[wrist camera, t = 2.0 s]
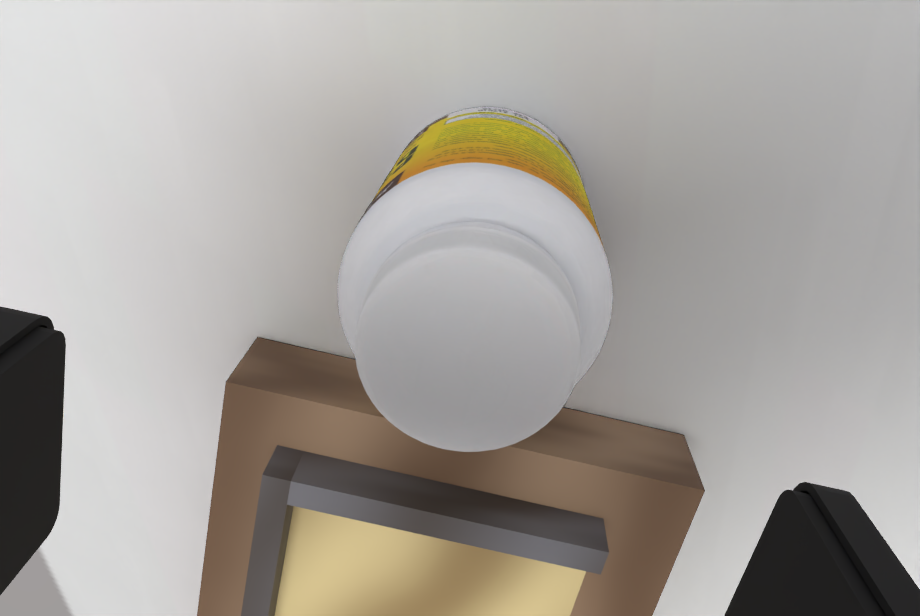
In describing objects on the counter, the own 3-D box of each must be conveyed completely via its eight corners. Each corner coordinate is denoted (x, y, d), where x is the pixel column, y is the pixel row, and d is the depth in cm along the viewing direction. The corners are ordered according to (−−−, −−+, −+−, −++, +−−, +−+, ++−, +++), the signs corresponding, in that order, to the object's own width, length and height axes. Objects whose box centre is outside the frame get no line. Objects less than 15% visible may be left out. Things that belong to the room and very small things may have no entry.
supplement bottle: (410, 81, 22) (334, 161, 12) (606, 129, 22) (677, 243, 13) (374, 267, 24) (285, 454, 15) (552, 308, 24) (578, 520, 15)
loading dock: (683, 434, 26) (717, 523, 21) (565, 734, 31) (574, 850, 27) (257, 337, 25) (207, 408, 21) (213, 657, 31) (166, 764, 26)
